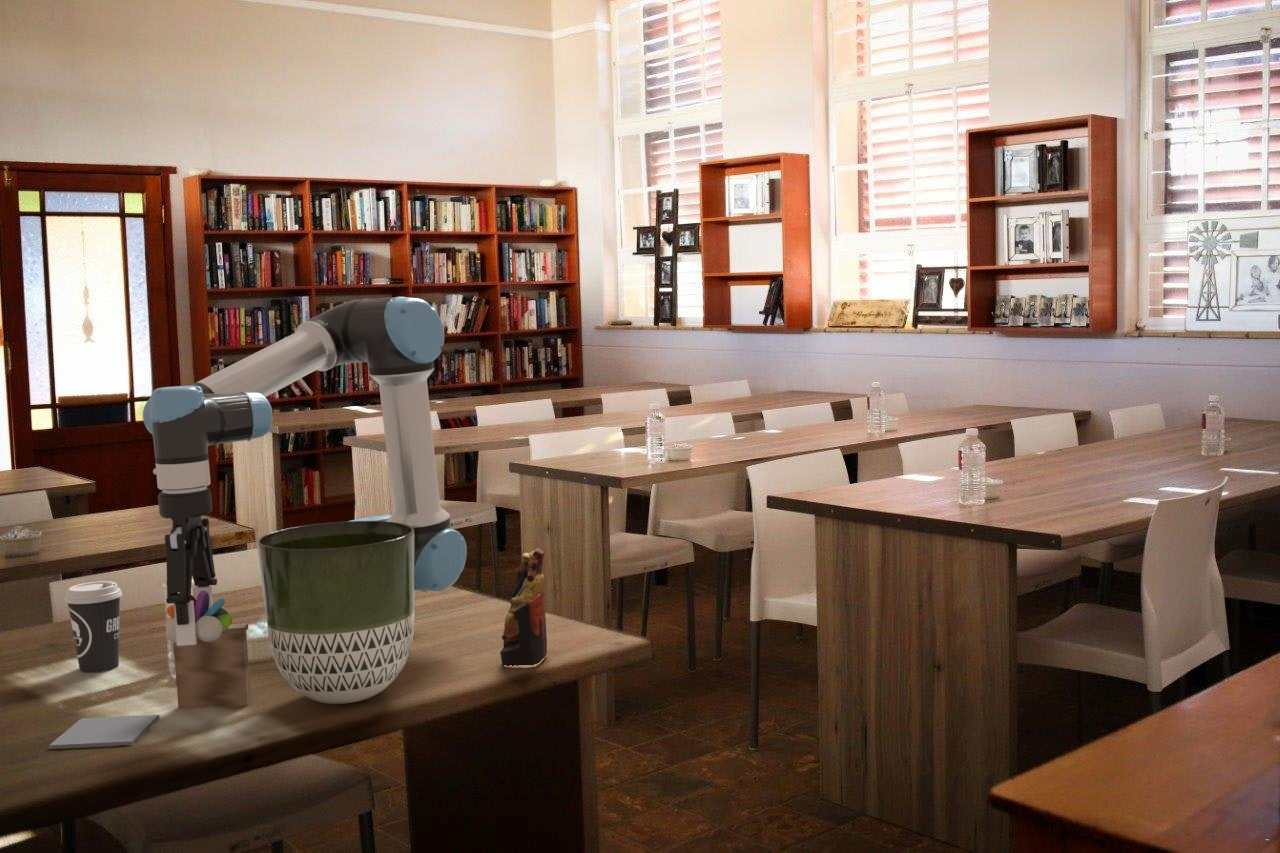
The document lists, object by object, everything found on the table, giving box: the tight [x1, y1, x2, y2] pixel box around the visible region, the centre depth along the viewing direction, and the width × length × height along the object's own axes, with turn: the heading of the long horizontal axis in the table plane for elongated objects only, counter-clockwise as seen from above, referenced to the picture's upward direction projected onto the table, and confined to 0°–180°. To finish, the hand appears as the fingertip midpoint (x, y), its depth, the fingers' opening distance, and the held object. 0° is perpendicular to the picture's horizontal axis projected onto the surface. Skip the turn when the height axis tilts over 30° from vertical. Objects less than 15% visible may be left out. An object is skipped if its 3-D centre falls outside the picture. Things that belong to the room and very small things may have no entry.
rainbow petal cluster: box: [165, 590, 233, 644], centre depth 191 cm, size 8×10×7 cm
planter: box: [256, 520, 416, 705], centre depth 203 cm, size 24×24×27 cm
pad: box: [48, 714, 160, 750], centre depth 191 cm, size 12×12×1 cm
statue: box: [499, 547, 548, 666], centre depth 220 cm, size 12×8×20 cm, turn 168°
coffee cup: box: [64, 580, 123, 674], centre depth 226 cm, size 10×10×15 cm
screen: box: [173, 623, 252, 710], centre depth 202 cm, size 12×3×13 cm, turn 93°
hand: (196, 636), depth 191 cm, fingers closed on rainbow petal cluster, 8 cm apart
